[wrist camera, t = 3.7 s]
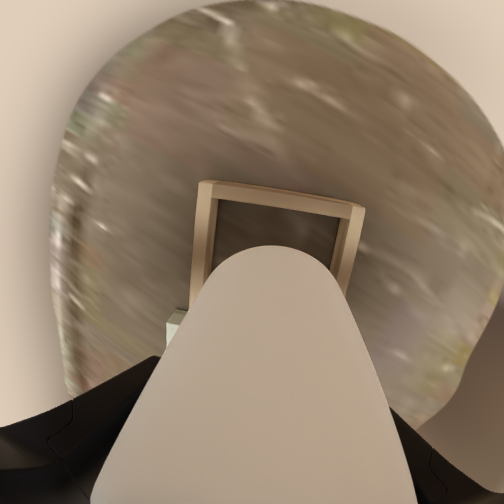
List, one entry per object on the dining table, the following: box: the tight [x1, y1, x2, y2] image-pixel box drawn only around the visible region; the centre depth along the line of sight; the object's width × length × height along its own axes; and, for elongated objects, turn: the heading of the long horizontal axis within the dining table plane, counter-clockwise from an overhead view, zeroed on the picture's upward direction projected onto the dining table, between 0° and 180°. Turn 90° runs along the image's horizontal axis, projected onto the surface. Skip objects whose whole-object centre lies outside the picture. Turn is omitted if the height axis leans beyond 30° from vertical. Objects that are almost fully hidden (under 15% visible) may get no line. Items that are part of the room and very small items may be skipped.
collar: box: [189, 180, 366, 308], centre depth 19 cm, size 10×10×2 cm
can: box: [90, 246, 418, 504], centre depth 8 cm, size 6×6×12 cm
